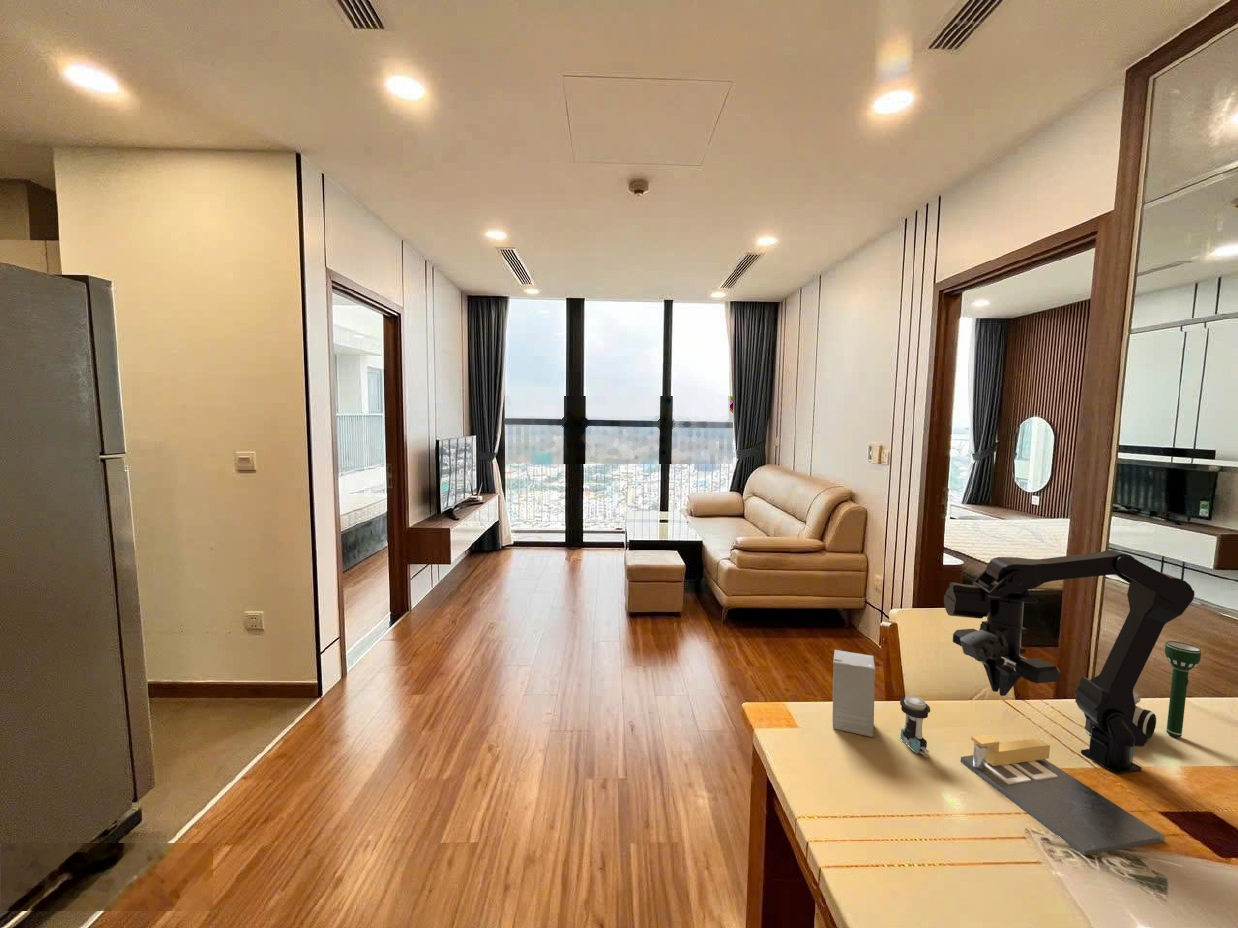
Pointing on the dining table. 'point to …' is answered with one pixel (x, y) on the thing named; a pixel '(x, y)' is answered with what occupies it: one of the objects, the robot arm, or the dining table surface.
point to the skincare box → (853, 692)
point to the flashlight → (1179, 681)
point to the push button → (914, 723)
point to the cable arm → (1012, 750)
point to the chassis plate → (1073, 811)
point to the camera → (1136, 719)
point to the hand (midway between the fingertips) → (998, 693)
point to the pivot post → (979, 756)
